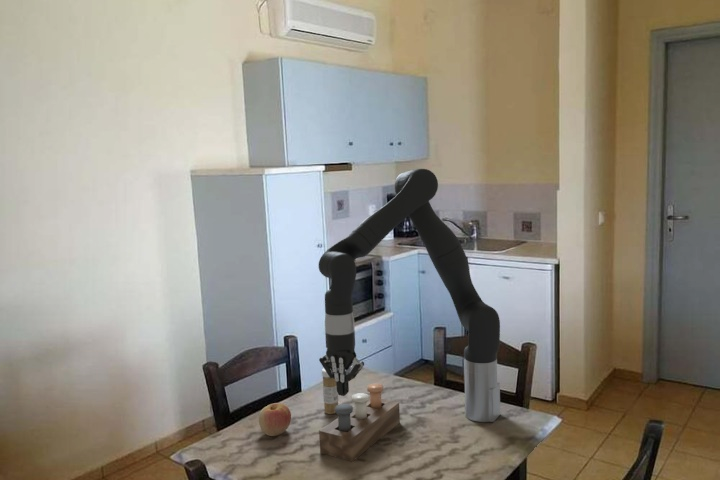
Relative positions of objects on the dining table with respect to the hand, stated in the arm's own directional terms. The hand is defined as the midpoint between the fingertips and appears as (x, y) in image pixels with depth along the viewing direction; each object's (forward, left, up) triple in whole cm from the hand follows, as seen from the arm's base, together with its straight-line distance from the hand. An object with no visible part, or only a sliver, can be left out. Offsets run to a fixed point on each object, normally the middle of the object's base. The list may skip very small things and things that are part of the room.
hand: (342, 394), depth 153 cm
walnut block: (0, -8, -15) cm, 17 cm away
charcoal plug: (0, 0, -11) cm, 11 cm away
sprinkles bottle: (+17, -18, -15) cm, 29 cm away
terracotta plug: (0, -16, -11) cm, 19 cm away
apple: (+23, +1, -15) cm, 28 cm away
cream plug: (0, -8, -11) cm, 13 cm away
